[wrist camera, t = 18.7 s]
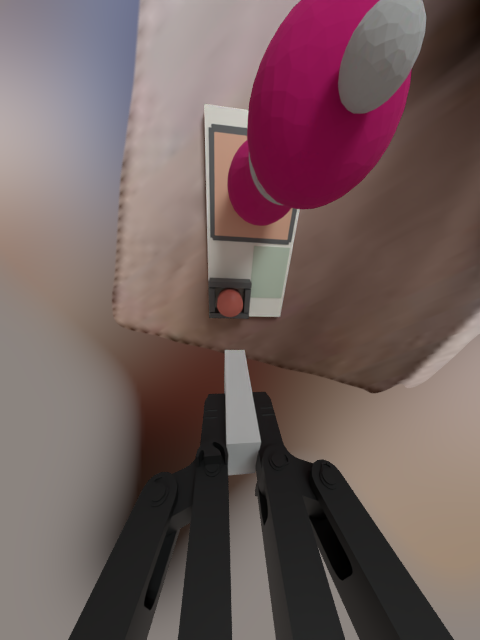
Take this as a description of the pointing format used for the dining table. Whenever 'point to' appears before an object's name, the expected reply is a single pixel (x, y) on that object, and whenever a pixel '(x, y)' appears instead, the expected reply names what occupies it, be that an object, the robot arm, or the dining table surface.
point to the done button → (229, 302)
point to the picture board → (241, 228)
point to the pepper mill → (324, 104)
